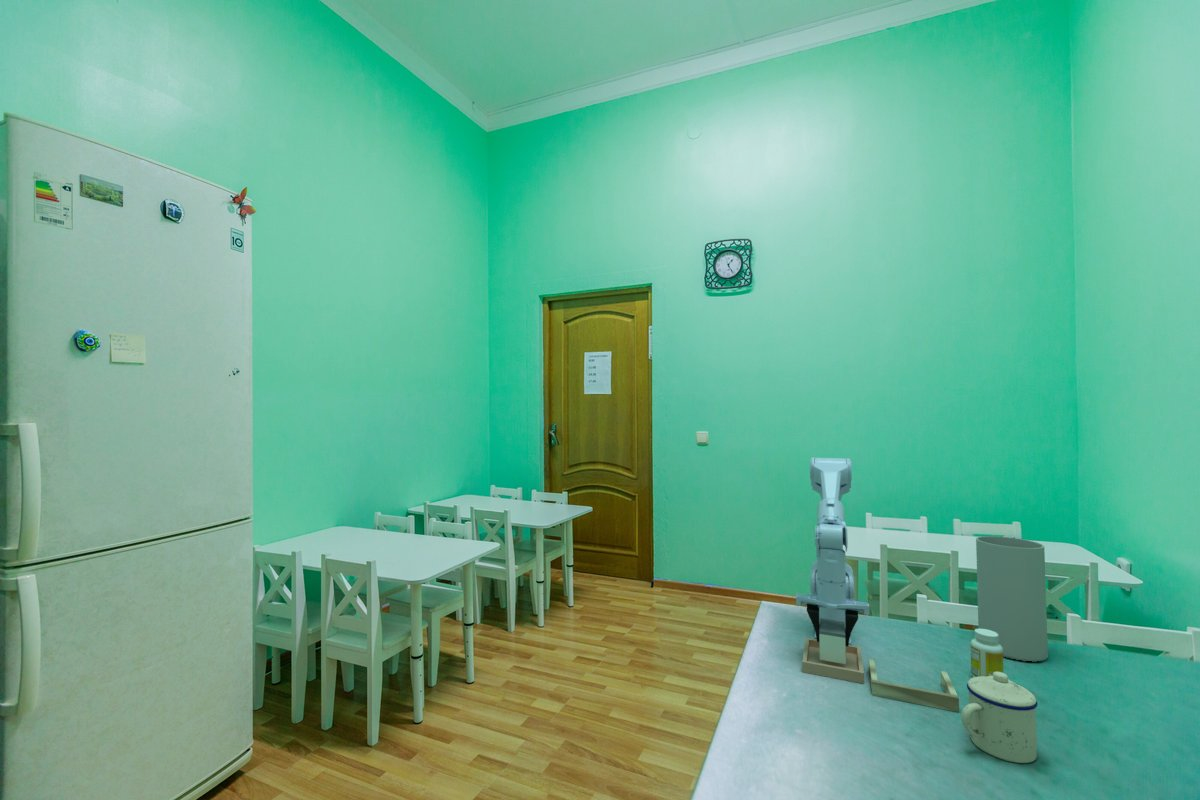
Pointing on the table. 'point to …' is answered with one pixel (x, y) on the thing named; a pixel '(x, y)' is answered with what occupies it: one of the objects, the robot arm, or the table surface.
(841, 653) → the grey-green upright block
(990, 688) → the teacup with lid
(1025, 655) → the cylinder vase
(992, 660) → the supplement bottle
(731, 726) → the table surface
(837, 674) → the tray
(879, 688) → the bay
